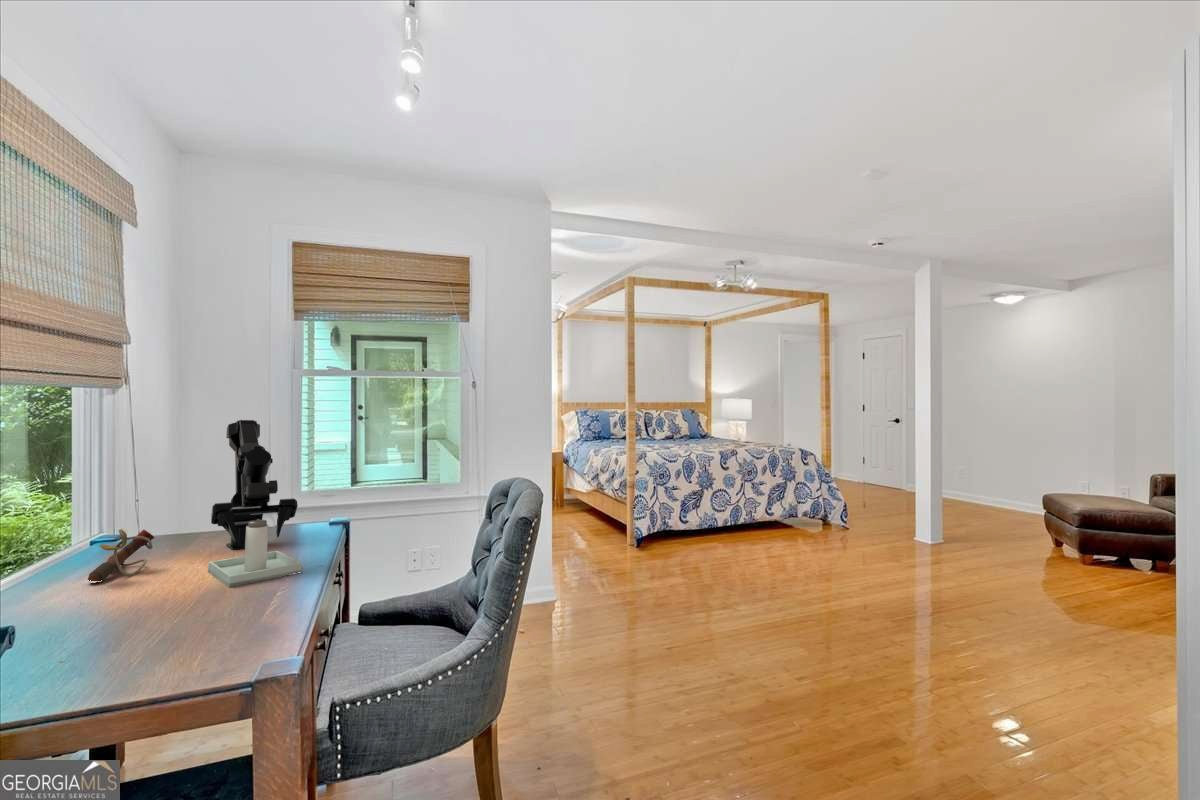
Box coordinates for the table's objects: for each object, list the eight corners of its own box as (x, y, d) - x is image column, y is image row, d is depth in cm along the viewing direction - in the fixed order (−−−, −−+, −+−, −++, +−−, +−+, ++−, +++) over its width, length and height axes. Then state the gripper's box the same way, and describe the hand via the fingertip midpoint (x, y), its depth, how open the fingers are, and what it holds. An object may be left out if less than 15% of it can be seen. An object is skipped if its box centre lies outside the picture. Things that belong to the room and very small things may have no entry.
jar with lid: (239, 571, 136) (241, 522, 136) (254, 565, 140) (256, 518, 141) (256, 572, 135) (258, 523, 135) (270, 567, 140) (273, 520, 140)
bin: (207, 571, 137) (208, 561, 137) (277, 559, 149) (277, 550, 149) (229, 587, 126) (229, 576, 126) (301, 572, 139) (302, 563, 139)
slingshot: (51, 584, 123) (98, 548, 137) (92, 611, 127) (134, 573, 141) (104, 541, 122) (146, 508, 136) (144, 569, 125) (181, 535, 140)
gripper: (214, 471, 136) (215, 524, 127) (298, 468, 147) (304, 516, 139) (210, 497, 142) (211, 549, 133) (291, 493, 153) (296, 540, 145)
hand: (257, 538), depth 137 cm, fingers open, 9 cm apart
